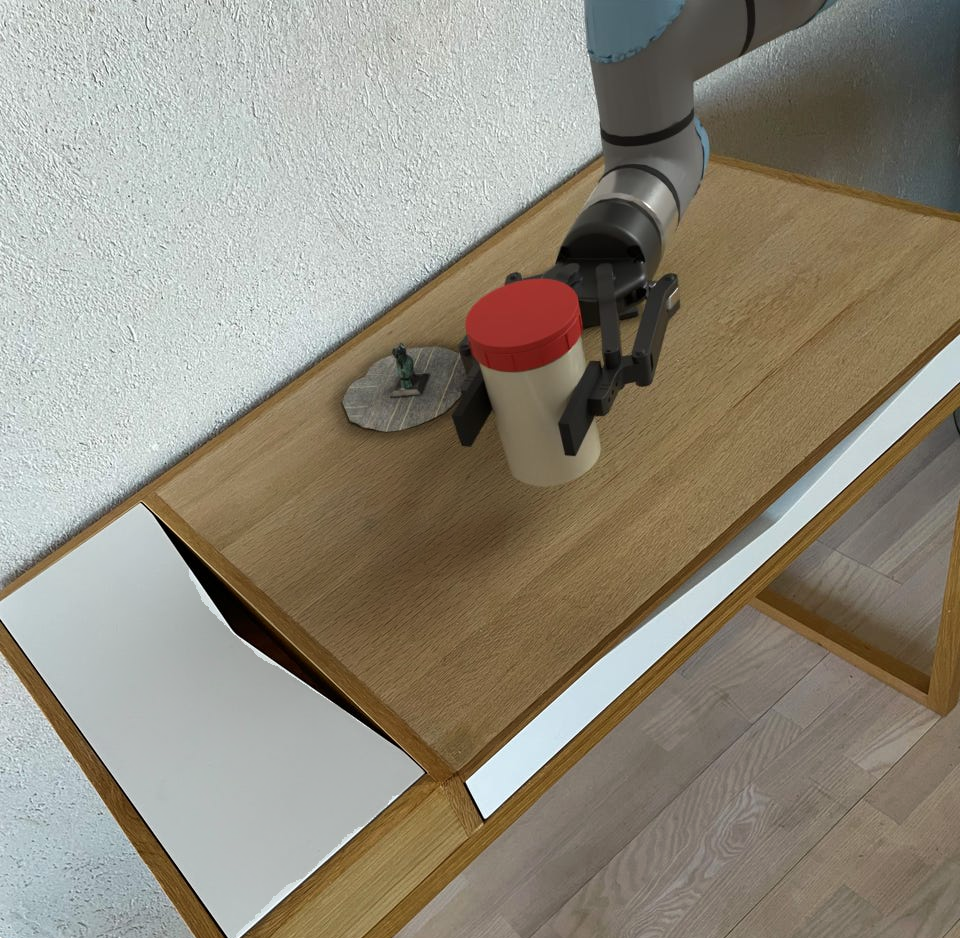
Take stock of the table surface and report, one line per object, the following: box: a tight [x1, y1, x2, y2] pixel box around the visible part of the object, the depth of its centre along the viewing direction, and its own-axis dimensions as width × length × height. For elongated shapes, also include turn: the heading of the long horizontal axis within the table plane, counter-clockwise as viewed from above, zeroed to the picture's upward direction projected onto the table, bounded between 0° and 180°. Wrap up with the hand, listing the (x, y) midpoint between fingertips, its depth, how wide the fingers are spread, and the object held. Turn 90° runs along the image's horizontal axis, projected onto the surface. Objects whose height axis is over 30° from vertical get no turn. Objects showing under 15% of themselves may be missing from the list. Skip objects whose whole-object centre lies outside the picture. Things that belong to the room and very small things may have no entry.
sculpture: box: [341, 342, 467, 433], centre depth 88 cm, size 12×9×8 cm
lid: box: [464, 279, 584, 372], centre depth 62 cm, size 8×8×2 cm
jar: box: [479, 334, 602, 488], centre depth 66 cm, size 7×7×12 cm
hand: (513, 435), depth 63 cm, fingers closed on jar, 7 cm apart
